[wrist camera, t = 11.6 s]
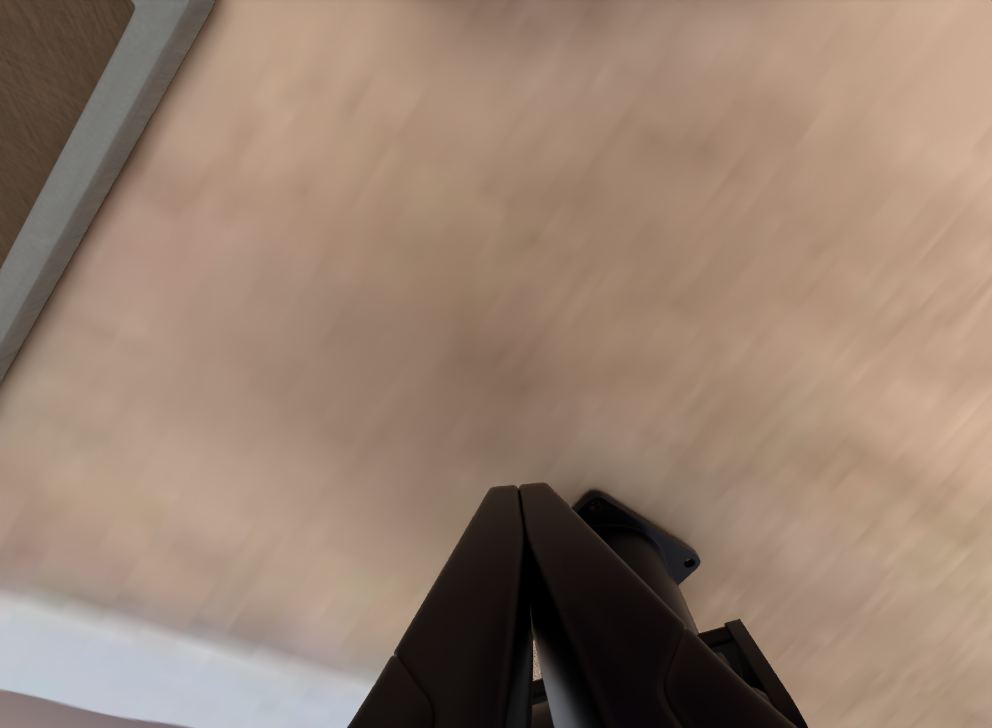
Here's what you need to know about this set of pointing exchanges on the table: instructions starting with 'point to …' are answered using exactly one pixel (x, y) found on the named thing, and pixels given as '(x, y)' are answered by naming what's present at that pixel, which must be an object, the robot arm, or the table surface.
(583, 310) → the table surface
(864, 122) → the table surface
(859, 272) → the table surface
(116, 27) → the grey rectangular tray
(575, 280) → the table surface
